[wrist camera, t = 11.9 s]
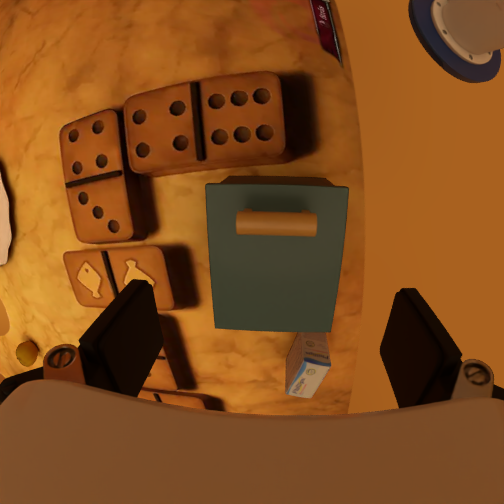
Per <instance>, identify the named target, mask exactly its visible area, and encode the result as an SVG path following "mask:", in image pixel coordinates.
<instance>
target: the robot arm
mask: <svg viewBox="0 0 504 504" xmlns="http://www.w3.org/2000/svg"><path fill="white" fill-rule="evenodd" d="M431 18H432V21H433V24H434V26H435V28H436V30H437V32H438V34H439V35H440V37H441V39H442V40H443V41H444V42H445V44H446V45H447V46H448V47H449V48H450V49H451V50H452V51H453V52H454V53H455V54H456V55H457V56H458V57H460V58H461V59H463V60H464V61H466V62H469V63H471V64H475V65H480V64H484V63H486V62H488V61H489V60H490V59H491V57H492V53H493V51H495V50H498V49H502V48H504V0H434V1H433V3H432V5H431ZM79 343H80V346H79V347H78V348H77V347H75V346H74V345H71V344H61V345H58V346H55V347H53V348H52V349H50V350H49V351H48V352H47V353H46V355H45V357H44V360H43V367H40V368H36V369H33V370H30V371H27V372H24V373H21V374H17V375H14V376H11V377H9V378H6V379H4V380H3V381H2V383H1V384H0V504H504V389H503V388H501V387H498V386H496V385H494V374H493V372H492V370H491V368H490V367H489V366H488V365H487V364H485V363H484V362H482V361H480V360H476V359H469V360H465V361H464V362H462V361H461V359H460V358H461V356H462V353H461V352H460V350H459V348H458V347H457V345H456V344H455V342H454V341H453V339H452V338H451V336H450V335H449V333H448V332H447V330H446V329H445V327H444V326H443V325H442V323H441V322H440V320H439V319H438V318H437V316H436V315H435V313H434V312H433V311H432V309H431V308H430V307H429V305H428V304H427V303H426V301H425V300H424V299H423V297H422V296H421V295H420V293H419V292H418V291H417V289H415V288H402V289H401V290H400V291H399V292H397V293H396V294H395V298H394V302H393V305H392V309H391V313H390V317H389V320H388V323H387V327H386V330H385V333H384V336H383V340H382V343H381V346H380V355H381V358H382V361H383V363H384V366H385V369H386V371H387V374H388V377H389V380H390V382H391V386H392V388H393V391H394V394H395V397H396V400H397V403H398V406H399V409H391V410H384V411H375V412H366V413H354V414H339V415H311V416H284V415H258V414H243V413H231V412H221V411H212V410H204V409H197V408H190V407H183V406H177V405H171V404H166V403H161V402H156V401H151V400H146V399H141V398H137V396H138V394H139V392H140V390H141V388H142V386H143V384H144V382H145V380H146V378H147V376H148V374H149V372H150V370H151V368H152V366H153V364H154V362H155V360H156V358H157V356H158V354H159V352H160V350H161V348H162V346H163V335H162V331H161V326H160V322H159V317H158V312H157V308H156V303H155V297H154V292H153V287H152V285H151V284H149V283H148V281H147V280H138V279H133V280H131V281H130V282H129V283H128V285H127V286H126V287H125V288H124V289H123V290H122V291H121V292H120V293H119V294H118V295H117V297H116V298H115V299H114V300H113V301H112V302H111V303H110V304H109V305H108V307H107V308H106V309H105V310H104V311H103V312H102V313H101V314H100V316H99V317H98V318H97V319H96V320H95V321H94V322H93V324H92V325H91V326H90V327H89V328H88V329H87V331H86V332H85V333H84V334H83V335H82V337H81V338H80V339H79Z"/></svg>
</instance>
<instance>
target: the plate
mask: <svg viewBox="0 0 504 504" xmlns="http://www.w3.org/2000/svg"><path fill="white" fill-rule="evenodd" d="M11 241H12V231H11V226H10V211H9V199H8V195H7V193H6V190H5V186H4V183H3V179H2V175H1V170H0V265H3V264H6V263H7V261H8V250H9V247H10V244H11Z"/></svg>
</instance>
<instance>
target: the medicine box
mask: <svg viewBox="0 0 504 504" xmlns="http://www.w3.org/2000/svg"><path fill="white" fill-rule="evenodd" d="M330 367H331V362H330V356H329V350H328V345H327V339H326V333H325V332H298V334H297V336H296V338H295V341H294V343H293V345H292V348H291V350H290V352H289V354H288V356H287V358H286V380H285V381H286V382H285V393H286V394H288V395H293V396H298V397H305V398H311V397H312V396H313V394H314V393H315V391H316V390H317V388H318V387H319V385H320V383H321V382H322V380H323V379H324V377H325V375H326V374H327V372H328V370H329V369H330Z"/></svg>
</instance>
